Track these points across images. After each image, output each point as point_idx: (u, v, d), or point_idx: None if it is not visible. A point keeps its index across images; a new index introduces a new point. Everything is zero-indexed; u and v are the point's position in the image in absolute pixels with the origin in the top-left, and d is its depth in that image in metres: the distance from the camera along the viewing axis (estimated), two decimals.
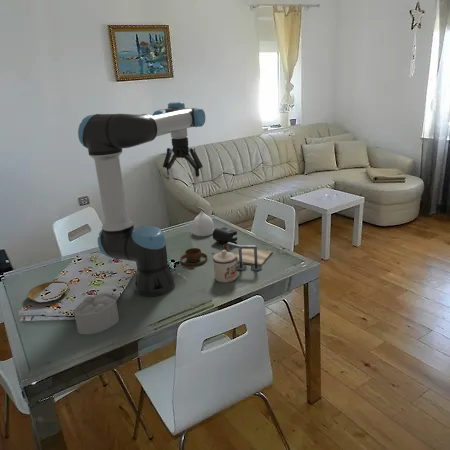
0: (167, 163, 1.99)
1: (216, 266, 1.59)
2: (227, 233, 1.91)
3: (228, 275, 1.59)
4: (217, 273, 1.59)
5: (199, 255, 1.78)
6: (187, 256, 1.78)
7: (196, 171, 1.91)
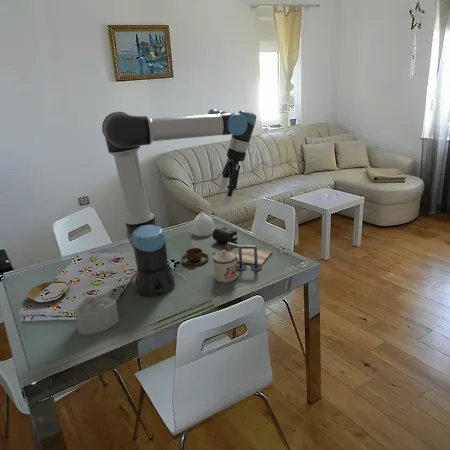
0: None
1: (216, 266, 1.59)
2: (227, 233, 1.91)
3: (228, 275, 1.59)
4: (217, 273, 1.59)
5: (200, 255, 1.78)
6: (188, 256, 1.78)
7: (229, 190, 1.69)
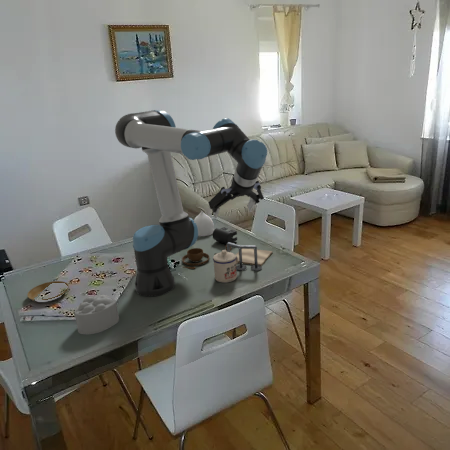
0: (260, 196, 1.48)
1: (216, 266, 1.59)
2: (227, 233, 1.91)
3: (228, 275, 1.59)
4: (217, 273, 1.59)
5: (201, 255, 1.78)
6: (189, 256, 1.78)
7: None
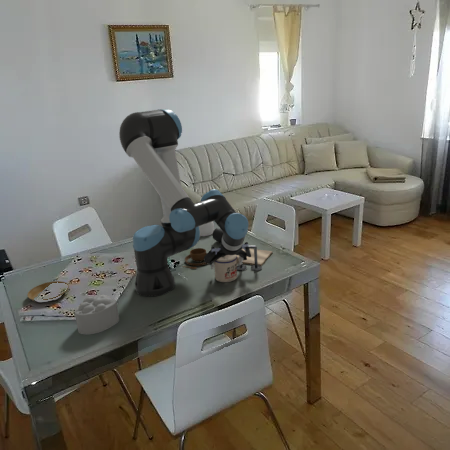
0: (248, 254, 1.59)
1: (216, 266, 1.59)
2: None
3: (228, 274, 1.59)
4: (217, 273, 1.59)
5: (203, 255, 1.77)
6: (191, 256, 1.78)
7: None
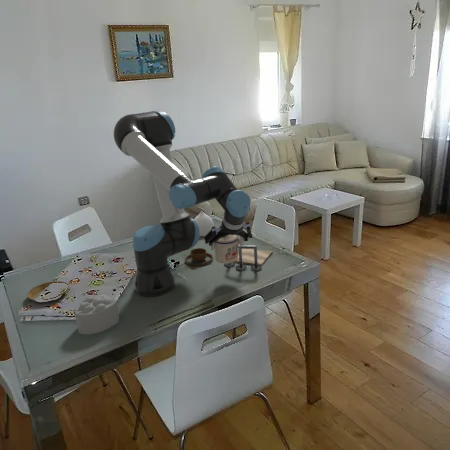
0: (249, 235, 1.55)
1: (217, 247, 1.55)
2: None
3: (229, 256, 1.55)
4: (218, 254, 1.56)
5: (203, 256, 1.77)
6: (191, 256, 1.78)
7: None
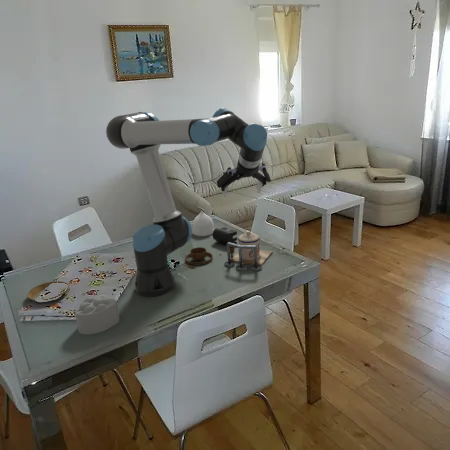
0: (267, 178, 1.55)
1: None
2: (227, 233, 1.91)
3: (252, 253, 1.74)
4: (242, 252, 1.75)
5: (203, 255, 1.78)
6: (191, 255, 1.79)
7: None
